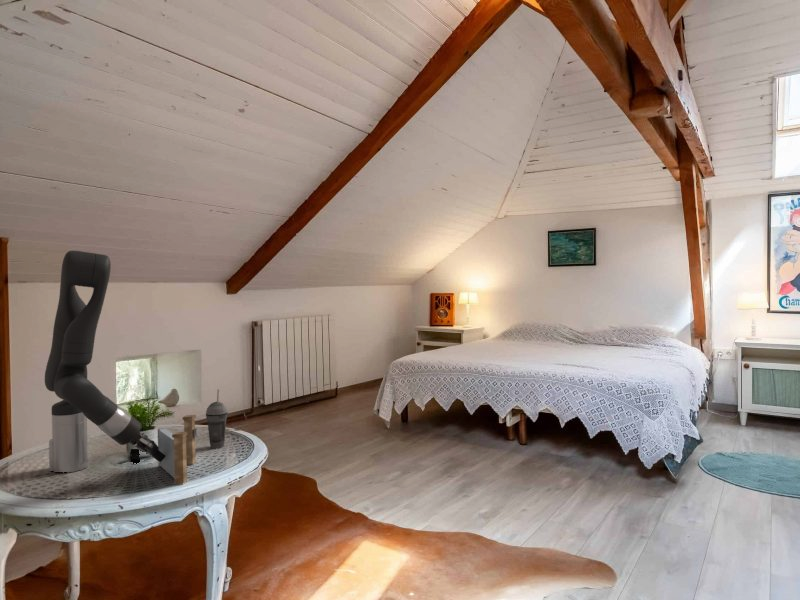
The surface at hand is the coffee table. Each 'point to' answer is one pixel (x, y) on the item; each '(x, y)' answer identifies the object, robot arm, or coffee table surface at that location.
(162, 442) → the gate
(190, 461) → the post
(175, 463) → the hinge post
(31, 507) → the coffee table surface
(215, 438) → the beverage cup
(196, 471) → the coffee table surface
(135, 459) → the black stepped block
